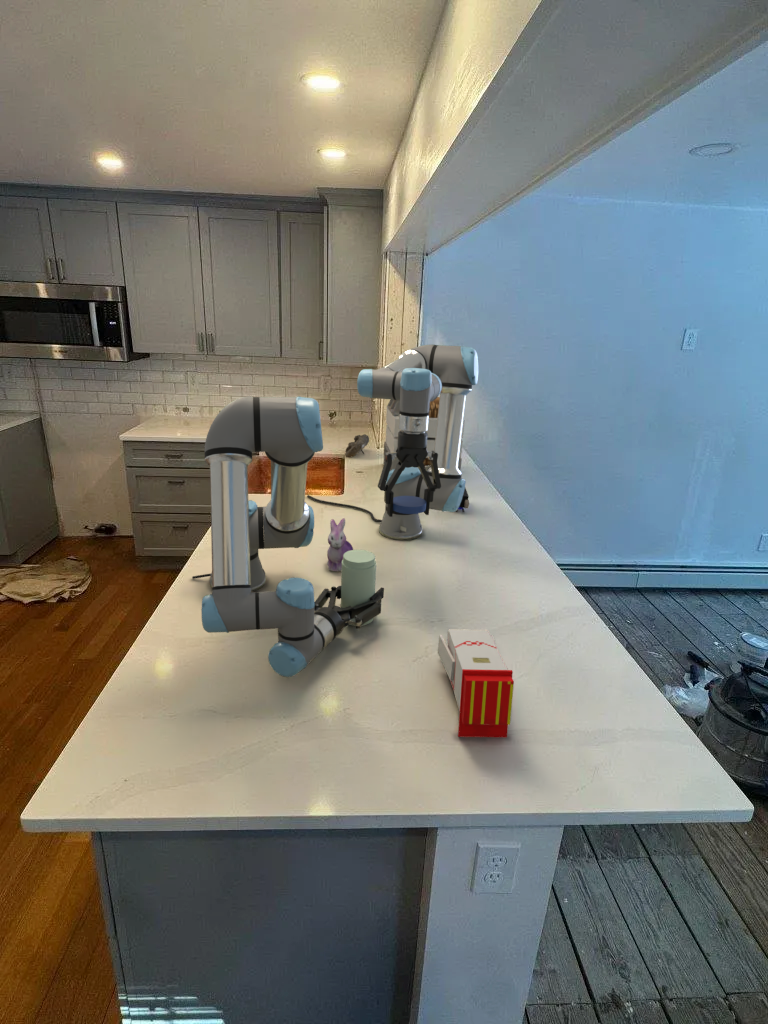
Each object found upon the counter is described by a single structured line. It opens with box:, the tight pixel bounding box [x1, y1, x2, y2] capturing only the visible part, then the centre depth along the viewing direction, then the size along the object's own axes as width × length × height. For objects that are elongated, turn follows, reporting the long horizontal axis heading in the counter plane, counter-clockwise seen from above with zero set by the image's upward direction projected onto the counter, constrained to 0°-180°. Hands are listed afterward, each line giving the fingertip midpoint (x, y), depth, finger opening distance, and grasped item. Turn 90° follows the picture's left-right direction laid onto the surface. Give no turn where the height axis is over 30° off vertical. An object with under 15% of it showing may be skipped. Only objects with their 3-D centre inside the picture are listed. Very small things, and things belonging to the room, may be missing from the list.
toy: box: [437, 628, 515, 738], centre depth 117 cm, size 12×13×30 cm
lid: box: [393, 496, 426, 514], centre depth 151 cm, size 9×9×2 cm
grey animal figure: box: [344, 433, 370, 458], centre depth 304 cm, size 22×10×15 cm
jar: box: [340, 549, 377, 627], centre depth 142 cm, size 9×9×17 cm
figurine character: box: [455, 487, 470, 513], centre depth 227 cm, size 7×8×15 cm
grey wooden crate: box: [383, 396, 465, 472], centre depth 268 cm, size 34×33×41 cm
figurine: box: [326, 517, 354, 572], centre depth 171 cm, size 9×10×15 cm
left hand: (366, 588), depth 147 cm, fingers closed on jar, 9 cm apart
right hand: (407, 514), depth 152 cm, fingers closed on lid, 9 cm apart
